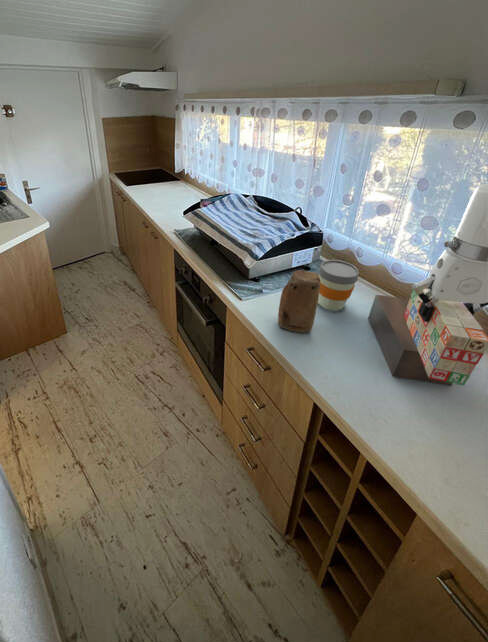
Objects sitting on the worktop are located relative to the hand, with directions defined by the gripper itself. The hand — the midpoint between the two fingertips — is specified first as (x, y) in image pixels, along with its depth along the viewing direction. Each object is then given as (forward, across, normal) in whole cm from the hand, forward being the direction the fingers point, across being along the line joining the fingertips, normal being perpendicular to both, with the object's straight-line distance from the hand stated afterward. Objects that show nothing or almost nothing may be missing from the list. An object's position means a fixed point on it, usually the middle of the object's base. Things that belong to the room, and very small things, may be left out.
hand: (442, 319), depth 68 cm
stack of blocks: (+8, 0, 0) cm, 8 cm away
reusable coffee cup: (+24, -12, +36) cm, 45 cm away
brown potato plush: (+24, -27, +21) cm, 42 cm away
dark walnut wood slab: (+24, +5, +17) cm, 30 cm away
